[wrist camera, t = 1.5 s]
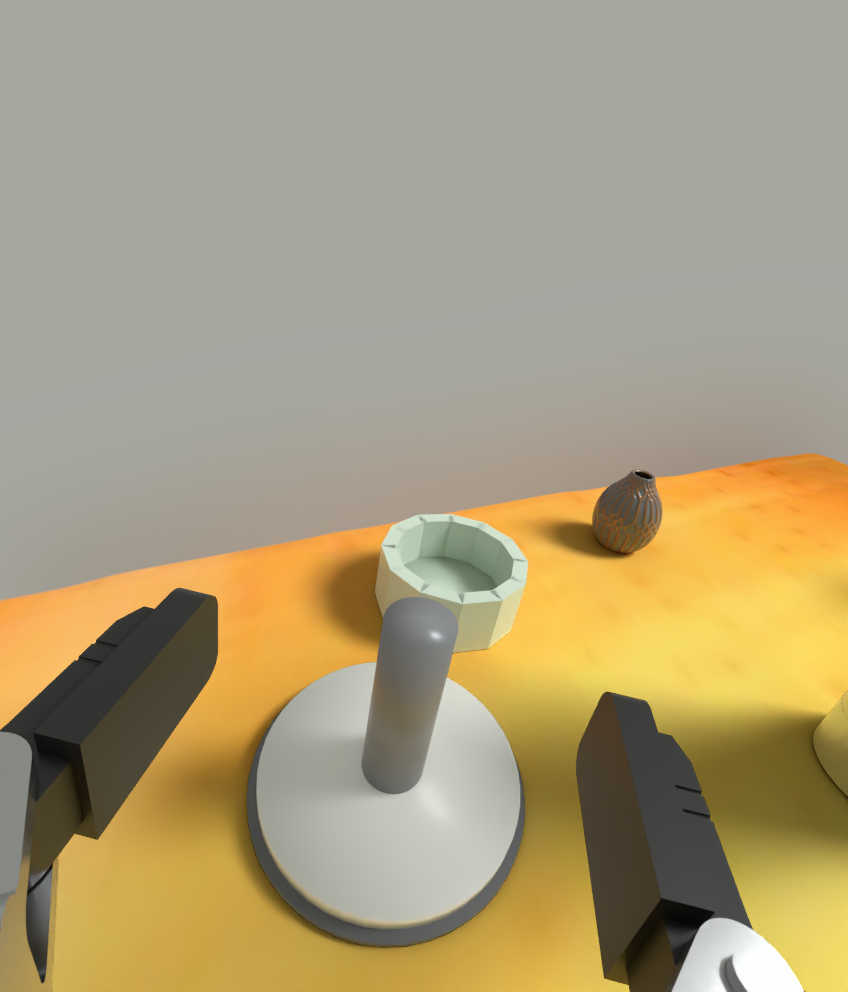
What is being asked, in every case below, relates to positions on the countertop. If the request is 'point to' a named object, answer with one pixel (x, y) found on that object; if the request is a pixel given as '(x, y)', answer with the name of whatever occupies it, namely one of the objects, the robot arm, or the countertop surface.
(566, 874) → the countertop surface
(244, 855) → the countertop surface
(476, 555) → the bowl
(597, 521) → the vase
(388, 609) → the lid
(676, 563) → the countertop surface
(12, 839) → the robot arm
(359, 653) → the countertop surface
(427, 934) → the mat
